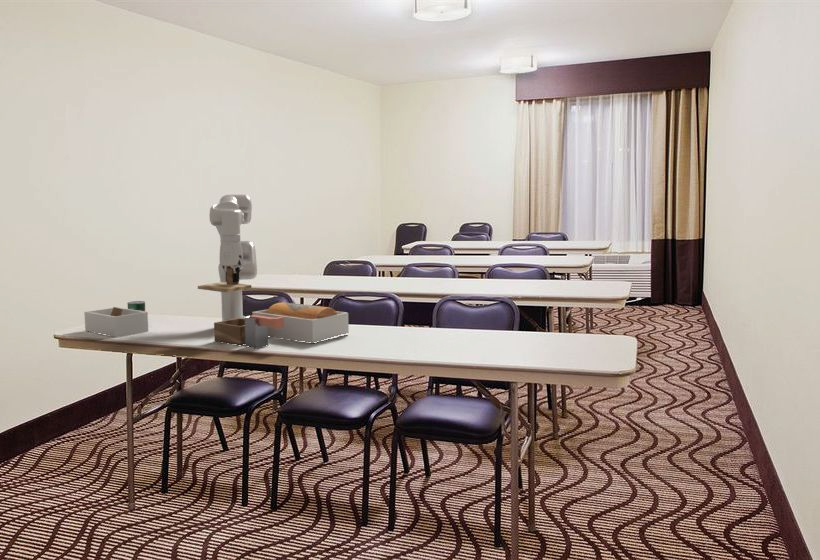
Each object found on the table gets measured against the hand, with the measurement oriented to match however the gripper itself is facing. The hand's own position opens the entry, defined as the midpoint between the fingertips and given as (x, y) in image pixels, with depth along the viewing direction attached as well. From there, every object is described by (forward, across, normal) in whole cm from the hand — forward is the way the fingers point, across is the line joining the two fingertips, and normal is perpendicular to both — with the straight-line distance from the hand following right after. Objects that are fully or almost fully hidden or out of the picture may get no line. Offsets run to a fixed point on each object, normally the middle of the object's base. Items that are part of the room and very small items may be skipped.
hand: (232, 281), depth 290 cm
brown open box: (+24, +7, -3) cm, 26 cm away
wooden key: (+15, +26, -8) cm, 31 cm away
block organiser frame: (+25, -56, -19) cm, 64 cm away
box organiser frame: (+25, +20, +20) cm, 38 cm away
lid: (+2, 0, -4) cm, 5 cm away
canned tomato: (+26, -62, -4) cm, 67 cm away
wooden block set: (+26, -57, -16) cm, 64 cm away
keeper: (+24, +21, -7) cm, 33 cm away
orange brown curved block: (+25, +22, +20) cm, 39 cm away
